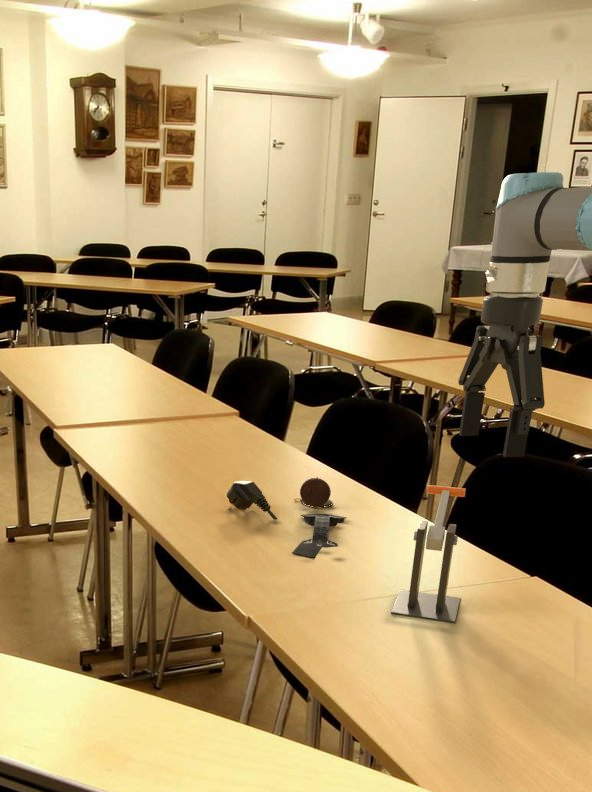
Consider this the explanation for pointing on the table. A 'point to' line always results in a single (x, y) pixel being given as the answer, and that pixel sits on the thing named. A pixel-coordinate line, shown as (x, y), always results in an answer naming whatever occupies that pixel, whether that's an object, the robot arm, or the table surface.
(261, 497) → the power plug
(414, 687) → the table surface
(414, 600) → the stand
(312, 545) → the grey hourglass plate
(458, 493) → the lever
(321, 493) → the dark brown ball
